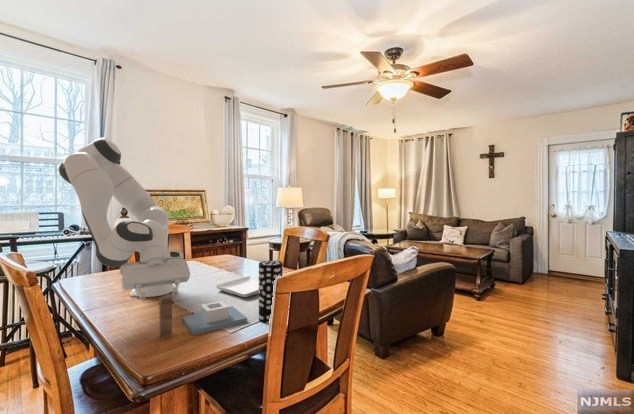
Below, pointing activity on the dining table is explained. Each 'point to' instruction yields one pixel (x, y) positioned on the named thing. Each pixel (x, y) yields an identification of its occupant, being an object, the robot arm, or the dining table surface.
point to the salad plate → (241, 286)
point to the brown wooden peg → (165, 317)
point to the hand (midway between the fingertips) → (159, 295)
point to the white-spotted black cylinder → (267, 287)
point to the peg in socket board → (213, 318)
